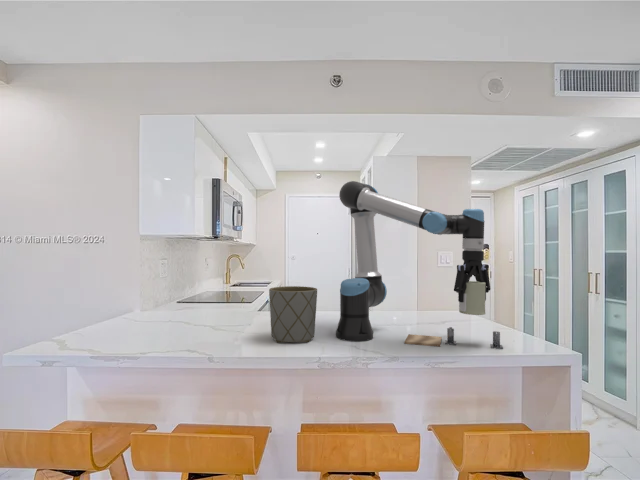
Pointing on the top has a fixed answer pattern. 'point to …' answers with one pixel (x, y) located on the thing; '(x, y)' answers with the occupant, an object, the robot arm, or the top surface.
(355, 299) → the robot arm
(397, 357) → the top surface
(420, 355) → the top surface
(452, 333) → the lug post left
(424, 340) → the tan flat square board
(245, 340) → the top surface
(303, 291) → the planter
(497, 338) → the lug post right
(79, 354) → the top surface
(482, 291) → the can
